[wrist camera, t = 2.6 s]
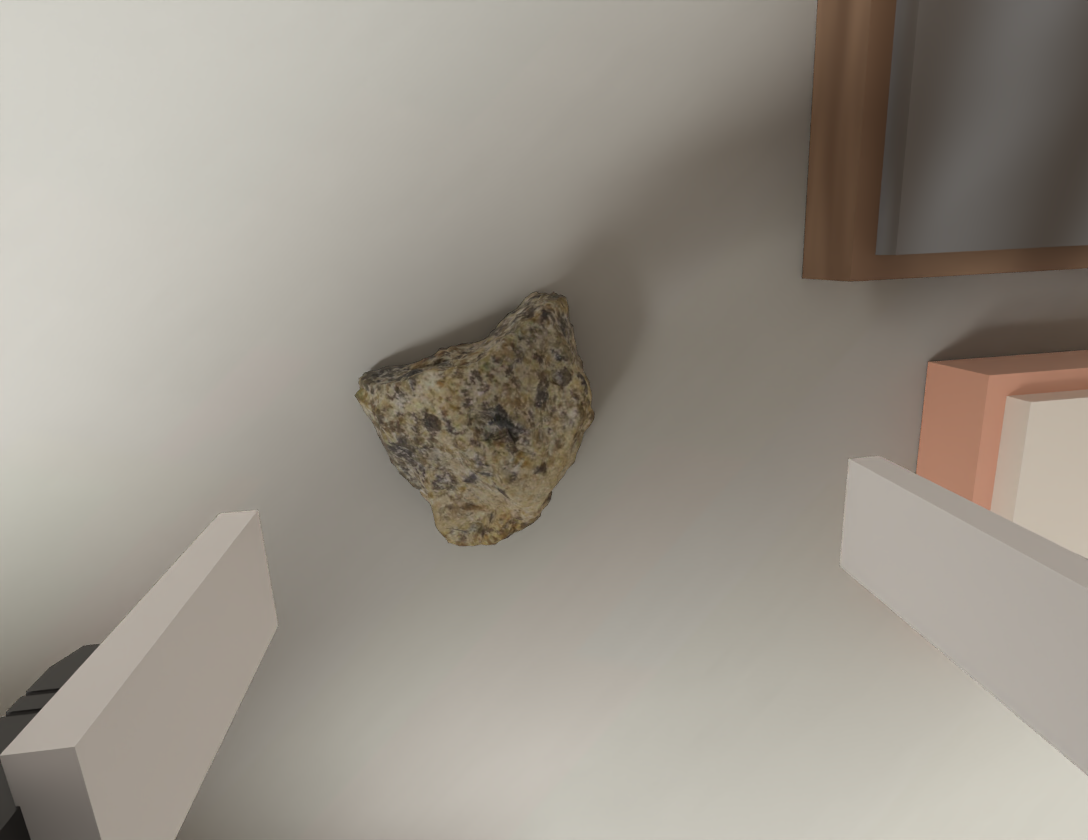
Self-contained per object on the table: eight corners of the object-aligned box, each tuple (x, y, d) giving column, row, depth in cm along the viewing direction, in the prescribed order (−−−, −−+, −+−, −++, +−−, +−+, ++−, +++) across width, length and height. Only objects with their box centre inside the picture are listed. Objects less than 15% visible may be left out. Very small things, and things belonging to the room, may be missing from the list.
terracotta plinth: (901, 609, 28) (972, 665, 24) (928, 361, 25) (1013, 380, 21) (1121, 582, 29) (1222, 631, 26) (1171, 343, 27) (1291, 358, 23)
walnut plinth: (802, 278, 24) (869, 282, 20) (827, -177, 20) (916, -278, 16) (1134, 260, 25) (1254, 260, 22) (1211, -163, 22) (1373, -252, 18)
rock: (625, 454, 25) (662, 497, 20) (441, 541, 25) (438, 602, 20) (552, 282, 23) (575, 289, 18) (350, 376, 23) (326, 404, 18)
